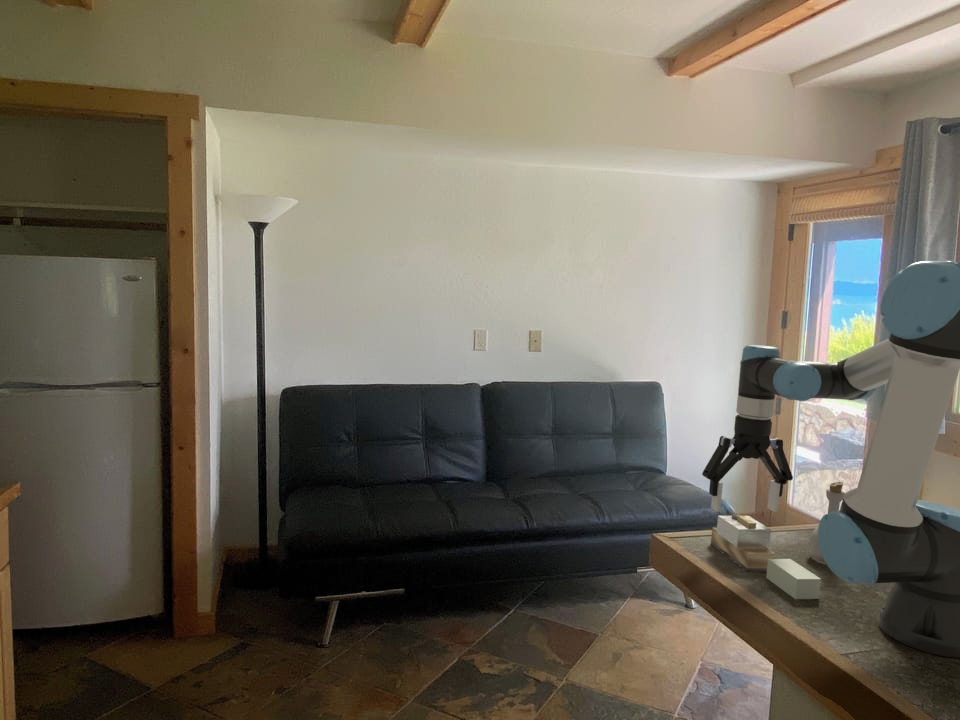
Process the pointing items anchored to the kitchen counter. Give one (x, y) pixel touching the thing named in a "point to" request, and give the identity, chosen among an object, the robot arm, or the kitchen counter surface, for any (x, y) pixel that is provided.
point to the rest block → (793, 579)
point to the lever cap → (743, 531)
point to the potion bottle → (834, 501)
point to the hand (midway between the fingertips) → (743, 510)
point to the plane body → (743, 553)
